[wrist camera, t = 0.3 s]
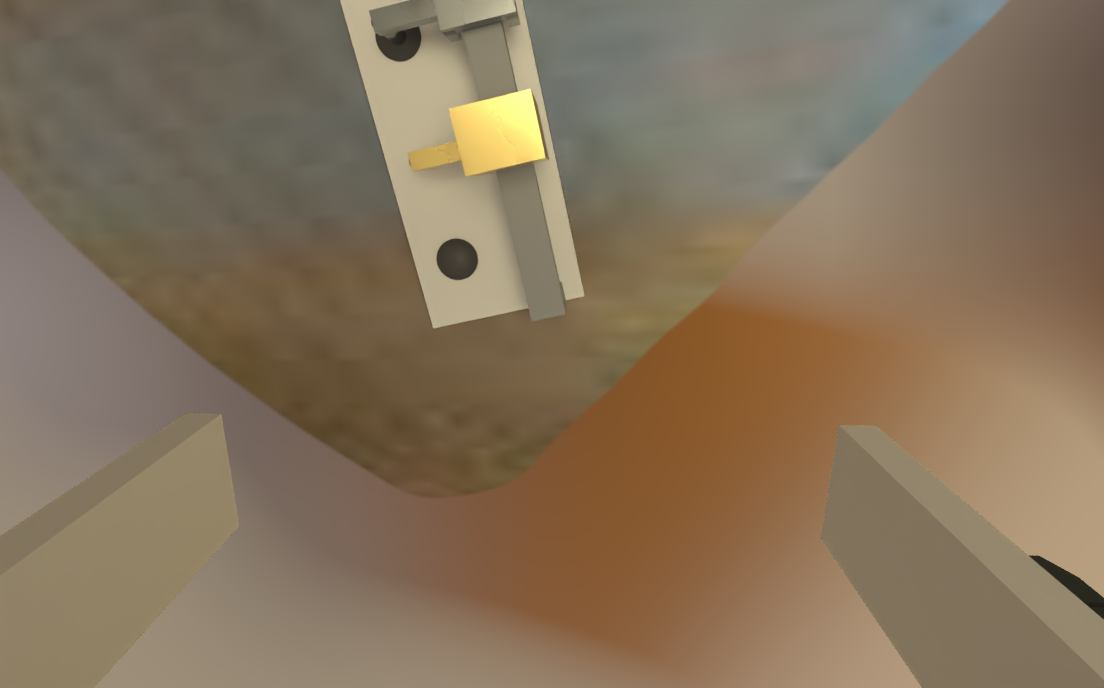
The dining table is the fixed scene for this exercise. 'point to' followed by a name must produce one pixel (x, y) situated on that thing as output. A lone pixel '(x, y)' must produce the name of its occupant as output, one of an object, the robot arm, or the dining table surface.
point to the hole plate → (445, 192)
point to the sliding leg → (490, 137)
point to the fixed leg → (441, 16)
